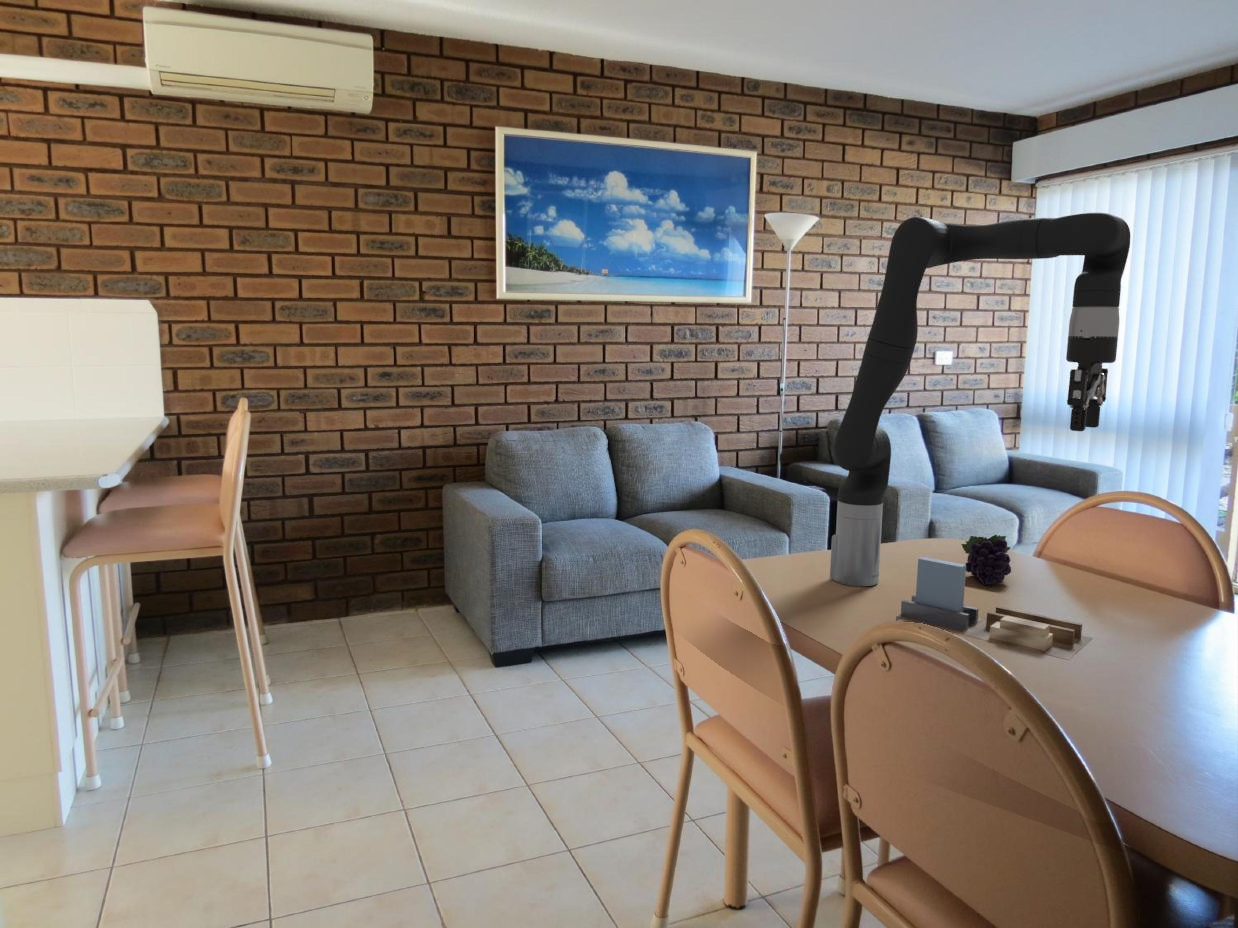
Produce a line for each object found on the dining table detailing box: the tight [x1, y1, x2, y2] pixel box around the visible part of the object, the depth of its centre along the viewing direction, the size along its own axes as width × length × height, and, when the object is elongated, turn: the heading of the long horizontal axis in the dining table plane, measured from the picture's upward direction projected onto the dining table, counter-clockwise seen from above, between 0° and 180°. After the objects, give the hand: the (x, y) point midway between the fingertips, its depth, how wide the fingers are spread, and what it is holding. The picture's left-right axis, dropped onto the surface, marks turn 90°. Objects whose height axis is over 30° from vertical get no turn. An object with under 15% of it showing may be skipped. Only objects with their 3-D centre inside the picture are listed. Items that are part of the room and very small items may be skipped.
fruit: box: [961, 534, 1012, 586], centre depth 187 cm, size 10×11×15 cm
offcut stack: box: [989, 615, 1053, 651], centre depth 147 cm, size 9×4×4 cm, turn 48°
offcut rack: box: [961, 605, 1094, 661], centre depth 149 cm, size 17×14×4 cm
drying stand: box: [895, 594, 981, 633], centre depth 159 cm, size 12×9×4 cm
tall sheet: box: [915, 556, 967, 613], centre depth 158 cm, size 8×2×10 cm, turn 46°
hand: (1084, 429), depth 151 cm, fingers open, 8 cm apart
